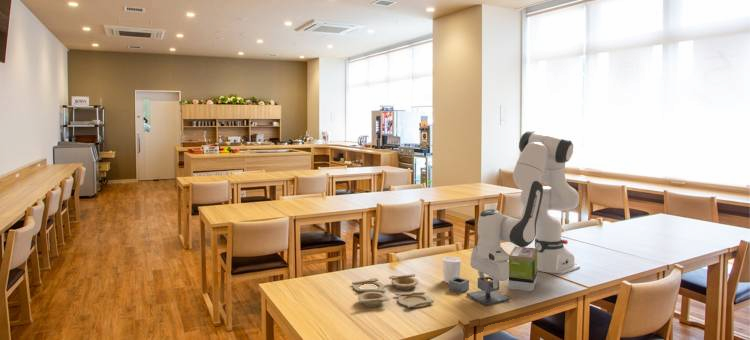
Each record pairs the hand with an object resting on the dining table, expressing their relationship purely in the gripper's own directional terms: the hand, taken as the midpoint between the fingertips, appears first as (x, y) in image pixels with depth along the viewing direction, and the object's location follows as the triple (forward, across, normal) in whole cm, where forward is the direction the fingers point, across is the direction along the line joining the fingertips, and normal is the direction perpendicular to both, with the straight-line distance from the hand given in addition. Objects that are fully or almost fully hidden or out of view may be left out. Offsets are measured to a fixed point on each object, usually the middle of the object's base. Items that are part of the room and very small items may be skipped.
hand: (488, 285), depth 193 cm
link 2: (+2, 0, 0) cm, 2 cm away
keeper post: (+6, 0, 0) cm, 6 cm away
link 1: (+6, -13, -5) cm, 15 cm away
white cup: (+6, -23, -2) cm, 24 cm away
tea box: (+6, -6, +23) cm, 24 cm away
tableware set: (+6, -21, -33) cm, 40 cm away
